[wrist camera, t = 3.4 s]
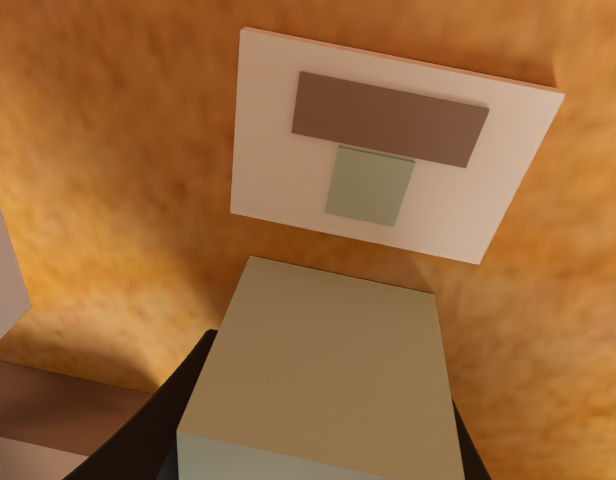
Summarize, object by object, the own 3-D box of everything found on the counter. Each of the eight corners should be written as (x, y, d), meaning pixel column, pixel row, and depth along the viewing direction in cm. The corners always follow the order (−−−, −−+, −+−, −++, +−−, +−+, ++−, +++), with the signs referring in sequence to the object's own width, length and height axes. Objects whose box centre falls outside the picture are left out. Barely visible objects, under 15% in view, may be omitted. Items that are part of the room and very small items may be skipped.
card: (558, 88, 8) (568, 96, 7) (475, 254, 10) (479, 267, 10) (245, 26, 8) (238, 30, 8) (234, 204, 10) (228, 214, 10)
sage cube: (434, 294, 11) (467, 495, 7) (385, 403, 14) (388, 589, 10) (249, 255, 11) (176, 430, 7) (238, 371, 14) (182, 543, 10)
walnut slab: (174, 388, 16) (138, 467, 14) (179, 502, 22) (155, 572, 19) (-78, 333, 16) (-159, 401, 14) (-6, 460, 22) (-54, 524, 20)
